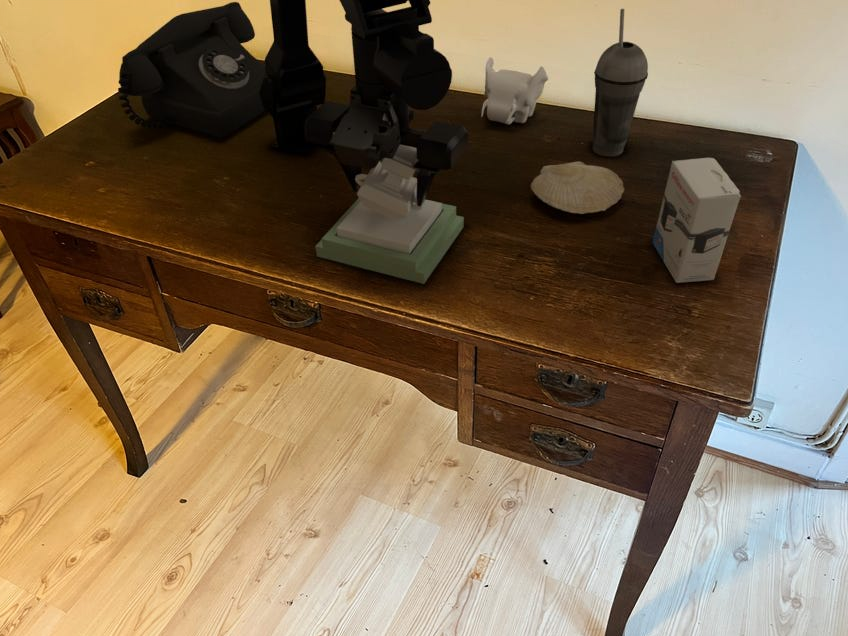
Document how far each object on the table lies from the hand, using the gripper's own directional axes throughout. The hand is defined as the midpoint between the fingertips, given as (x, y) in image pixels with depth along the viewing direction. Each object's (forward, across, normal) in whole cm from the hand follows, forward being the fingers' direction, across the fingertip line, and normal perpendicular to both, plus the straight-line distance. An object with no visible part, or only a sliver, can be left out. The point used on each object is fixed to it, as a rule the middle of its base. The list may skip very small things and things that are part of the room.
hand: (388, 197), depth 91 cm
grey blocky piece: (+2, -1, 0) cm, 2 cm away
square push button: (+4, 0, 0) cm, 4 cm away
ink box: (+7, +35, +9) cm, 37 cm away
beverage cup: (+7, +20, +33) cm, 40 cm away
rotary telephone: (+7, -44, +22) cm, 50 cm away
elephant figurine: (+7, +3, +37) cm, 38 cm away
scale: (+7, 0, 0) cm, 7 cm away
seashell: (+7, +19, +18) cm, 27 cm away
